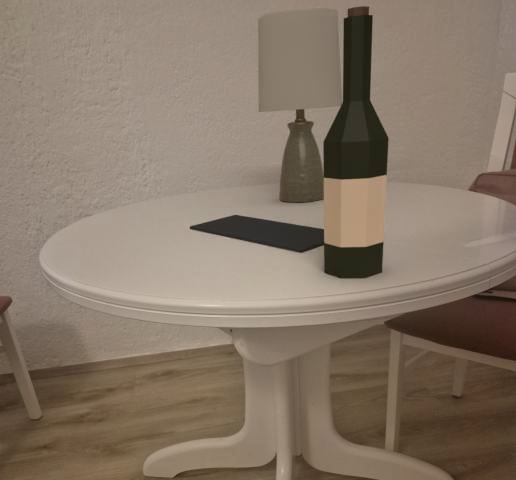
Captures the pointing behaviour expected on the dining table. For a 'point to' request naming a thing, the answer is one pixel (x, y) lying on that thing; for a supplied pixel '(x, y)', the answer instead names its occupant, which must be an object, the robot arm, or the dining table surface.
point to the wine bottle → (355, 164)
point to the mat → (265, 232)
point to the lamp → (299, 88)
